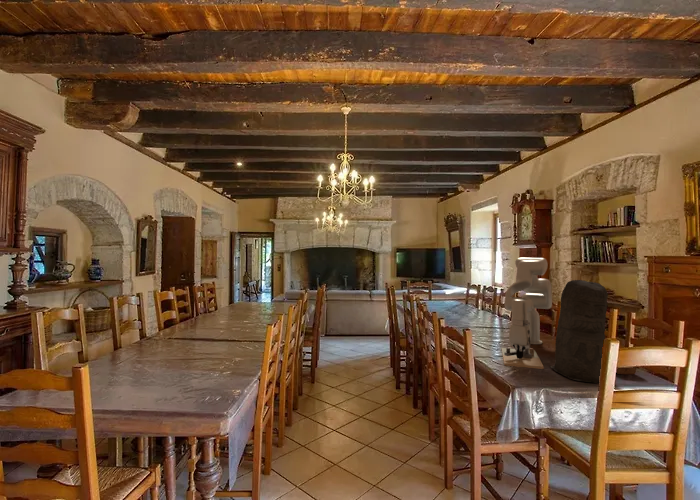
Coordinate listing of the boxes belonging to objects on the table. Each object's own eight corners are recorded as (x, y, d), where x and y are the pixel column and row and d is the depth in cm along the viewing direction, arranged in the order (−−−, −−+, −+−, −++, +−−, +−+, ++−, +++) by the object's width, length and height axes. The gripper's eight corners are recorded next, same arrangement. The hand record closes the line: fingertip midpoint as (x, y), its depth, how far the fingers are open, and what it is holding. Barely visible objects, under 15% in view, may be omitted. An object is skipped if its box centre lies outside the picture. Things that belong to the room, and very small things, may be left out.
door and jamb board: (501, 349, 222) (501, 336, 222) (534, 352, 216) (534, 339, 216) (504, 365, 190) (504, 350, 190) (543, 369, 184) (543, 353, 184)
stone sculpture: (557, 382, 168) (567, 284, 163) (548, 365, 187) (557, 276, 183) (619, 392, 160) (631, 289, 156) (603, 373, 180) (614, 281, 175)
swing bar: (523, 352, 202) (523, 346, 202) (526, 353, 200) (526, 347, 200) (504, 355, 197) (504, 348, 197) (507, 356, 195) (507, 349, 195)
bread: (637, 375, 175) (637, 354, 175) (614, 375, 175) (613, 353, 176) (612, 363, 193) (611, 344, 194) (590, 363, 194) (590, 344, 194)
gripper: (537, 324, 192) (537, 360, 191) (510, 320, 204) (510, 354, 203) (530, 325, 187) (530, 362, 187) (502, 321, 199) (502, 356, 199)
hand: (519, 358), depth 195 cm, fingers closed
